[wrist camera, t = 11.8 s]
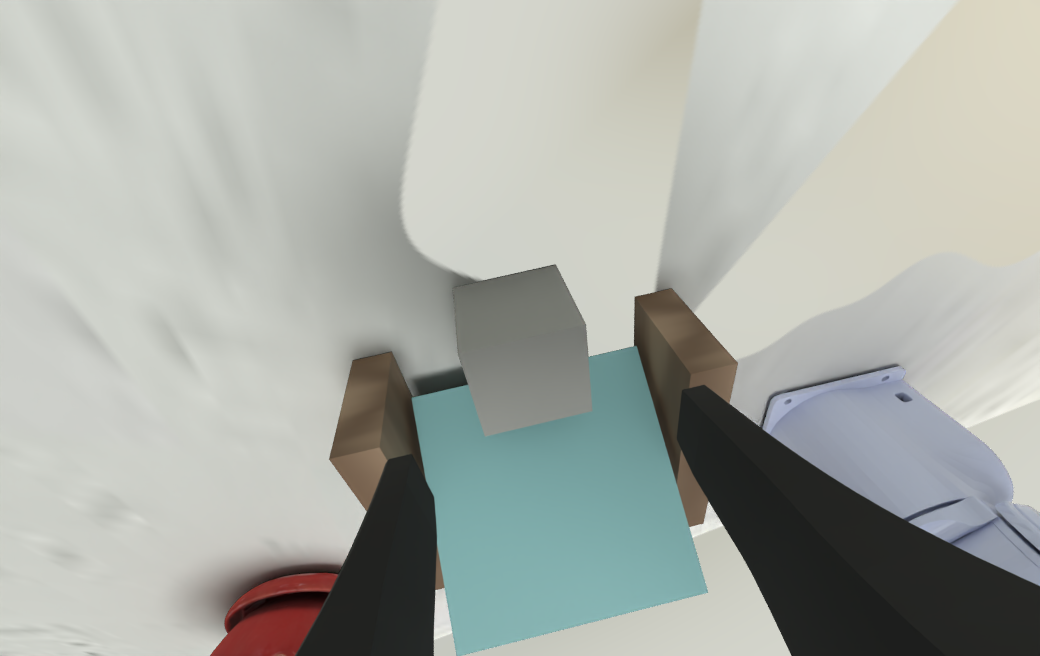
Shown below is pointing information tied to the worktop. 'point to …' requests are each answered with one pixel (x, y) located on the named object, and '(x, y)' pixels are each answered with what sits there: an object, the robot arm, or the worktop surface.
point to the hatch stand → (666, 363)
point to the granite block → (522, 349)
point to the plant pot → (275, 616)
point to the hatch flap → (555, 512)
